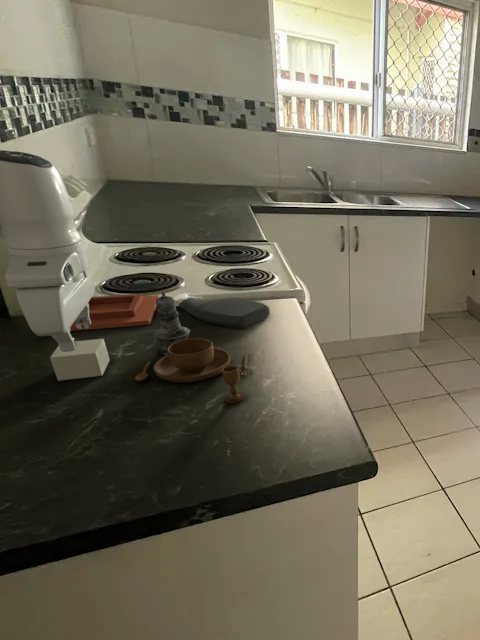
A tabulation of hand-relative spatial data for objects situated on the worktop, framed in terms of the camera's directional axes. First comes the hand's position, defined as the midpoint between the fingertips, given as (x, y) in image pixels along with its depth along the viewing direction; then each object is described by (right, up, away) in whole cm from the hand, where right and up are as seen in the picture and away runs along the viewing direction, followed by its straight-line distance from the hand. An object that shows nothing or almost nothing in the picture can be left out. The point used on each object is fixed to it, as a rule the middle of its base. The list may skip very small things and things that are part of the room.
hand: (77, 338), depth 82 cm
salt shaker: (+8, -2, +12) cm, 15 cm away
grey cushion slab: (+6, +6, +29) cm, 30 cm away
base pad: (-14, +5, +23) cm, 28 cm away
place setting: (+18, -8, +3) cm, 20 cm away
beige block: (-1, -6, +2) cm, 6 cm away
